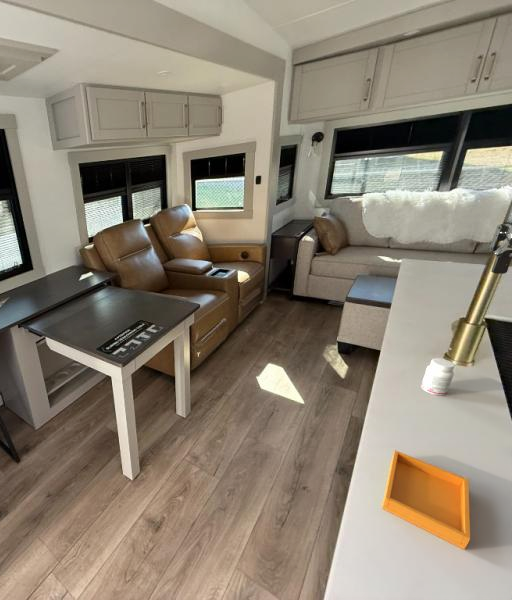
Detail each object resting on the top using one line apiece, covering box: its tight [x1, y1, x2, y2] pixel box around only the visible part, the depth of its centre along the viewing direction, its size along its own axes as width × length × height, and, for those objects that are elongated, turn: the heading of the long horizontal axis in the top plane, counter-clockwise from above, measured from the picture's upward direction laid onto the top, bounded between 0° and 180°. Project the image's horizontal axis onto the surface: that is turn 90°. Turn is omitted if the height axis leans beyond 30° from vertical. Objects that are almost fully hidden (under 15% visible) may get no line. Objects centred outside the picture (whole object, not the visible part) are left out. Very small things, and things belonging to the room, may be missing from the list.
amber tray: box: [381, 450, 471, 551], centre depth 57 cm, size 10×13×3 cm
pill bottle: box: [420, 357, 455, 396], centre depth 80 cm, size 5×5×8 cm
